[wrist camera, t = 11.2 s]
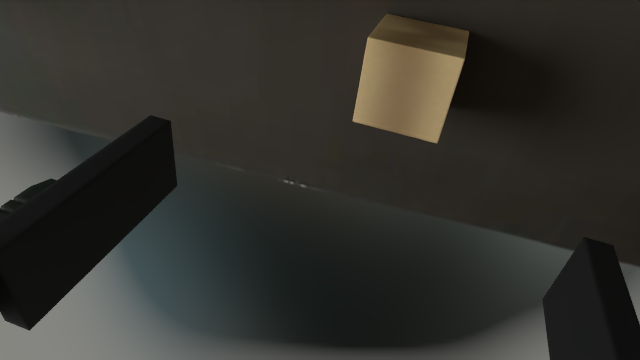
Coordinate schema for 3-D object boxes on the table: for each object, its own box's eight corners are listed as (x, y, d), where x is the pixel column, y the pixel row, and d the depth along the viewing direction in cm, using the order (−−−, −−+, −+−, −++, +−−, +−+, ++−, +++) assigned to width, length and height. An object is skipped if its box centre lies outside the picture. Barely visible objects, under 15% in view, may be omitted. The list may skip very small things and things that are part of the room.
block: (469, 30, 23) (465, 58, 19) (445, 107, 26) (437, 143, 22) (386, 13, 24) (367, 37, 20) (371, 89, 26) (352, 121, 23)
